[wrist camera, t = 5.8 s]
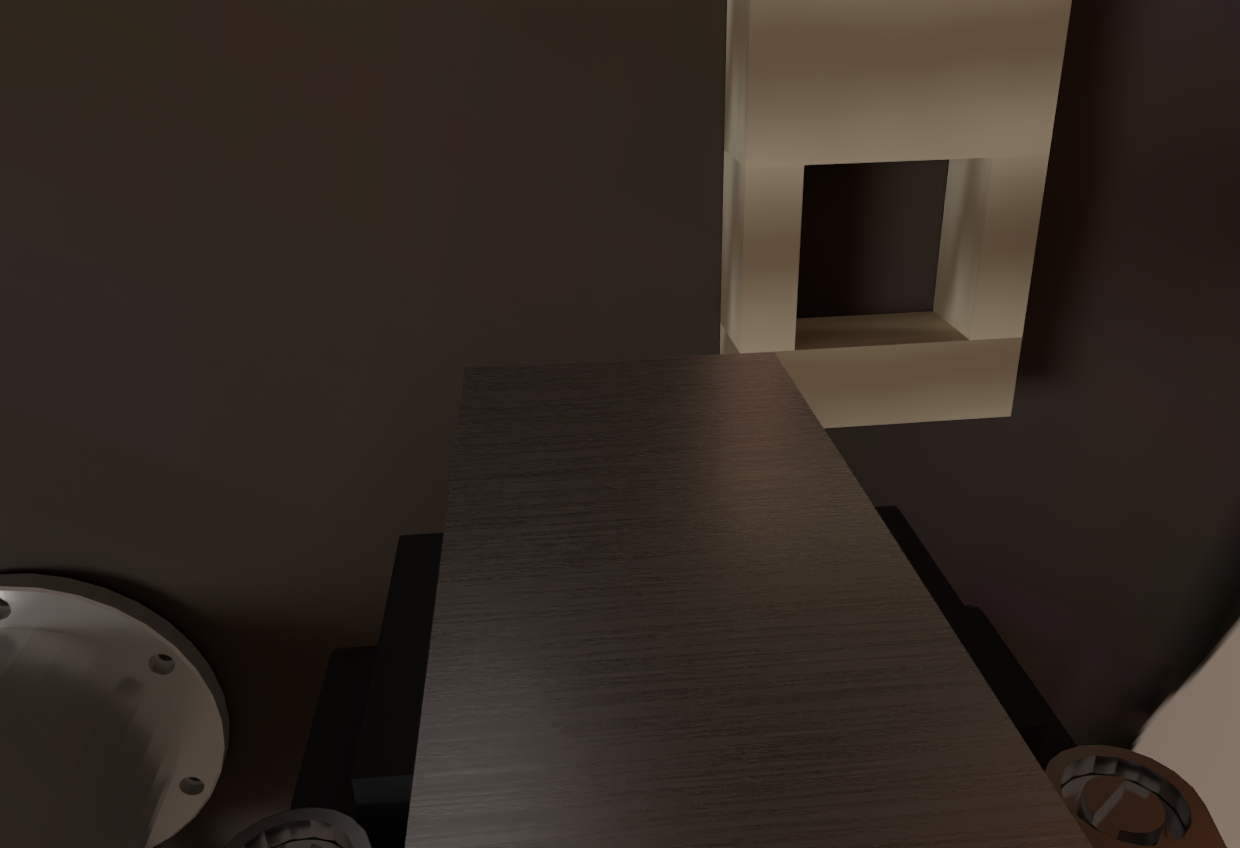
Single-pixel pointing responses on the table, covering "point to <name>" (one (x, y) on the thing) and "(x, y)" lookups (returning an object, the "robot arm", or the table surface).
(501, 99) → the table surface
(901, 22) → the block with square holes
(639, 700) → the peg
